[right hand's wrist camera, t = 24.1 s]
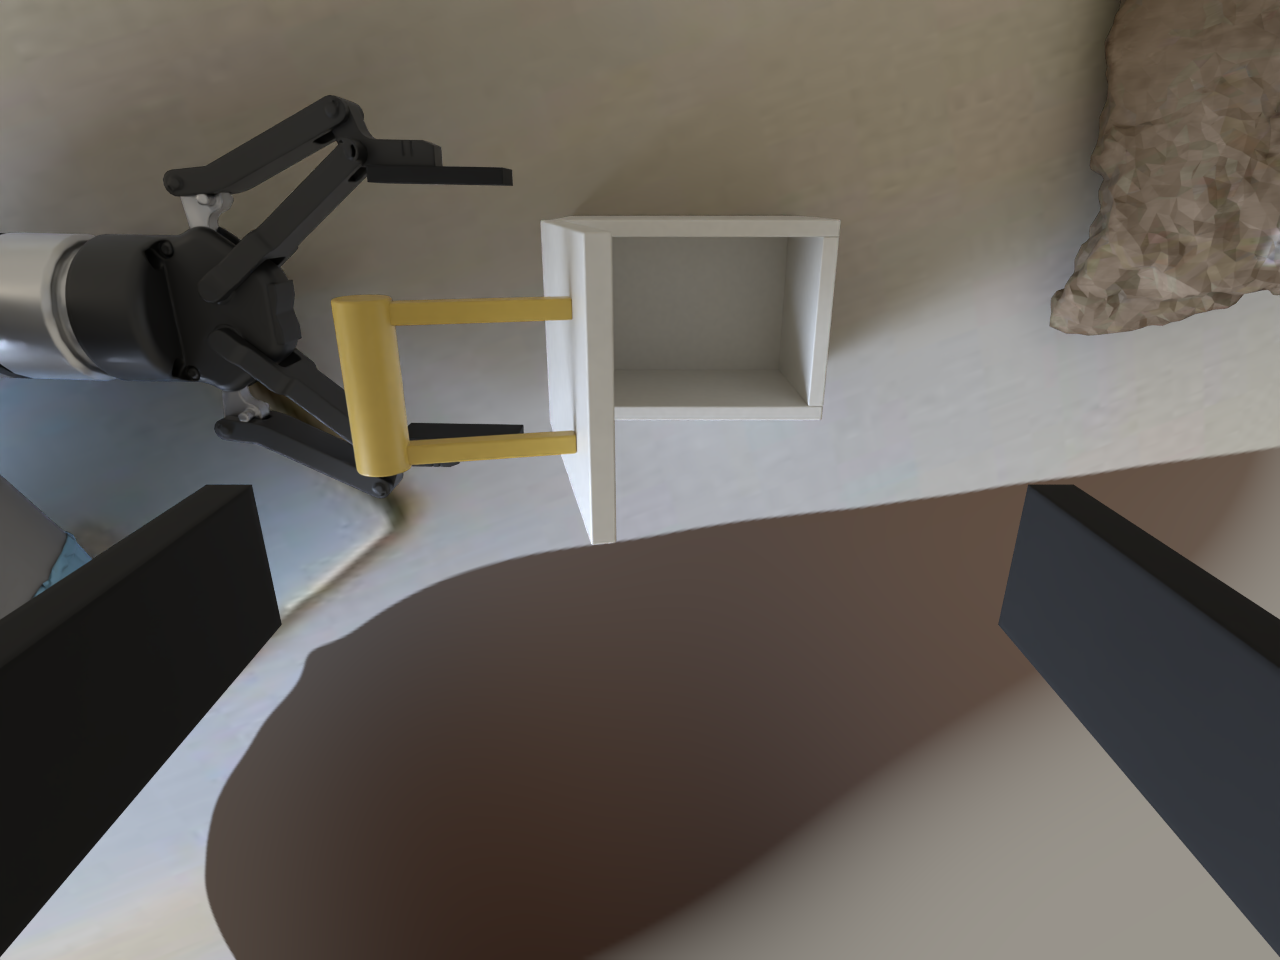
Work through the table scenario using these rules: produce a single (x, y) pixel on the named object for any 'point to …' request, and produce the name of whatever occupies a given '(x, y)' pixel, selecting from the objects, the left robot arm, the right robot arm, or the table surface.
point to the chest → (720, 315)
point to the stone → (1182, 167)
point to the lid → (573, 360)
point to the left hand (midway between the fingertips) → (515, 316)
